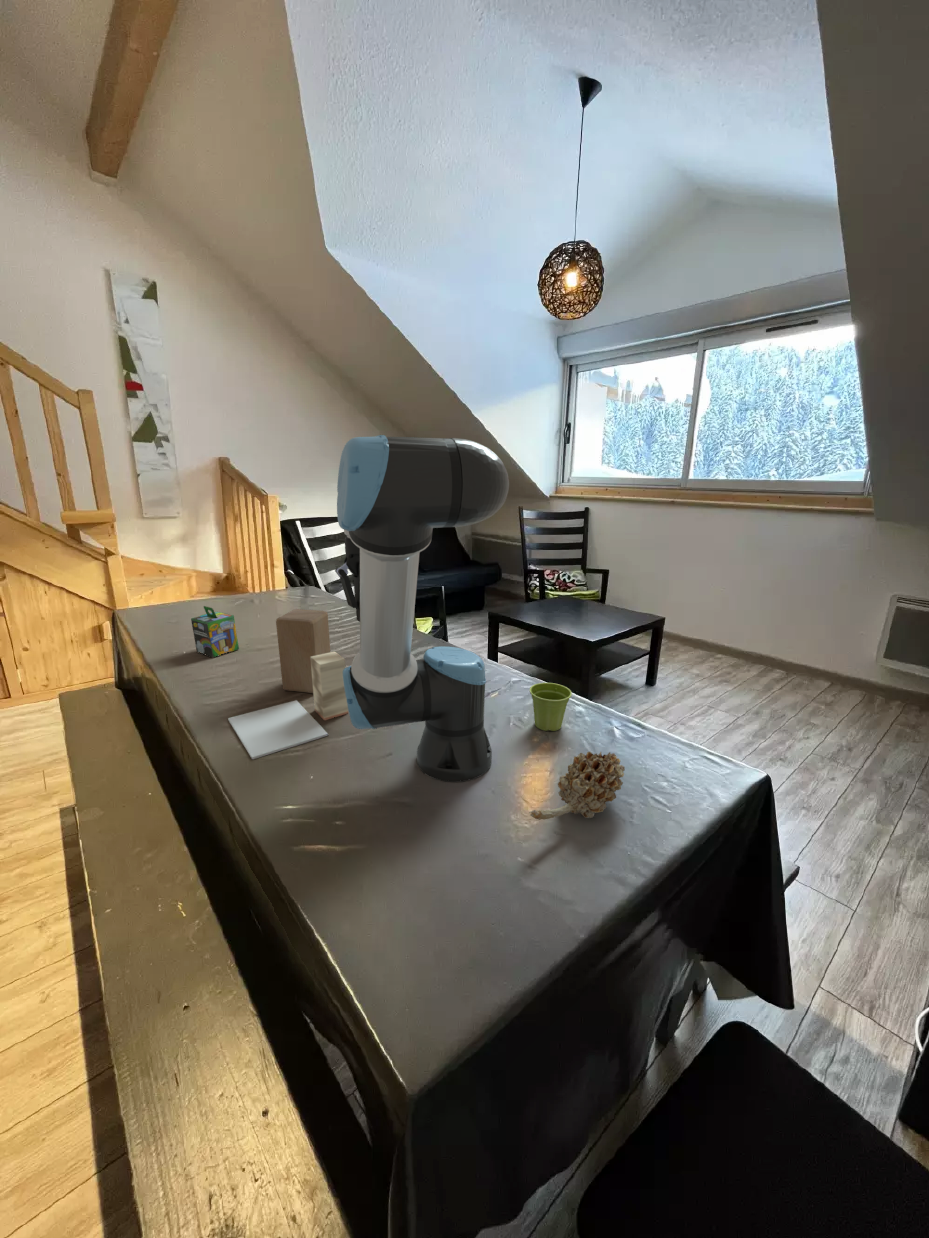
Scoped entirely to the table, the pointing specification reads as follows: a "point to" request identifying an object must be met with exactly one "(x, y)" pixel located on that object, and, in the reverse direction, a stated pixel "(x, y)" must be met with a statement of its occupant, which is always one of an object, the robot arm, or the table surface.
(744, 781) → the table surface
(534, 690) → the plant pot
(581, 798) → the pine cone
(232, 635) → the chalk box
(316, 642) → the block
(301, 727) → the mat
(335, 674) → the birch block
